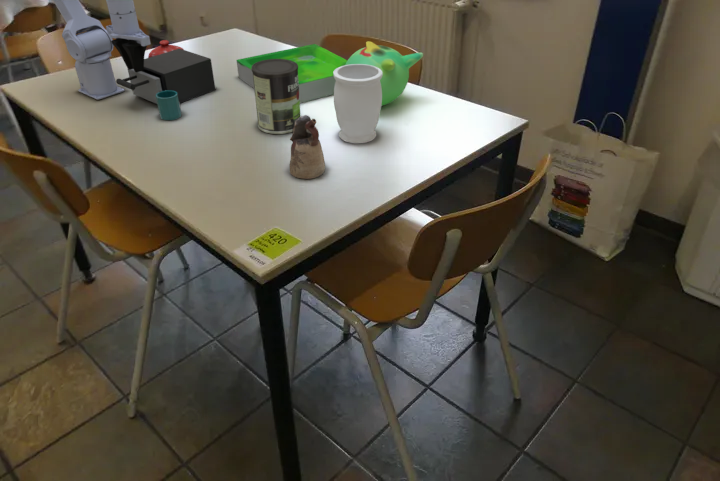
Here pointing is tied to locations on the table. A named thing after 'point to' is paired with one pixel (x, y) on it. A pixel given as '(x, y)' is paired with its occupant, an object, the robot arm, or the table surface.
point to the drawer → (144, 84)
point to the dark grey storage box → (183, 73)
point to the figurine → (306, 150)
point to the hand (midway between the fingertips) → (135, 69)
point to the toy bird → (387, 67)
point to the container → (168, 105)
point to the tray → (301, 69)
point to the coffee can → (276, 95)
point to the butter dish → (163, 48)
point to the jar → (357, 101)
